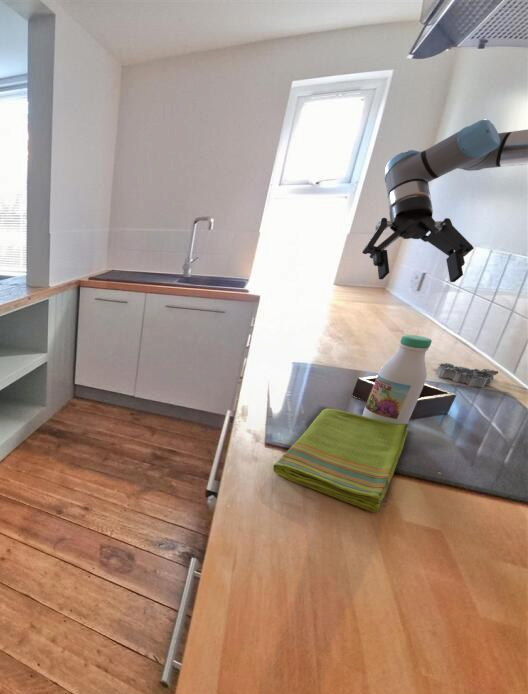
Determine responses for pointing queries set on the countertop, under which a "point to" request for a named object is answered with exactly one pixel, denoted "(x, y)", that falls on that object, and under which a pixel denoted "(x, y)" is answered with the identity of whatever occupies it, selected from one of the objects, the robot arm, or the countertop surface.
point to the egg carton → (466, 375)
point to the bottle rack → (426, 406)
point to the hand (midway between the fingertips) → (419, 277)
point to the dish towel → (345, 457)
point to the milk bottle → (399, 382)
